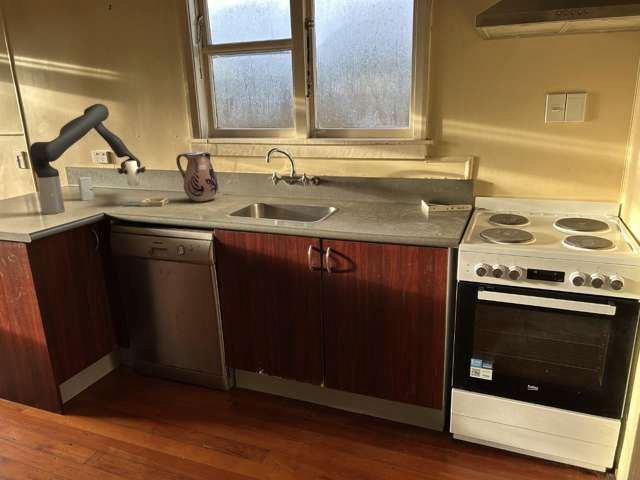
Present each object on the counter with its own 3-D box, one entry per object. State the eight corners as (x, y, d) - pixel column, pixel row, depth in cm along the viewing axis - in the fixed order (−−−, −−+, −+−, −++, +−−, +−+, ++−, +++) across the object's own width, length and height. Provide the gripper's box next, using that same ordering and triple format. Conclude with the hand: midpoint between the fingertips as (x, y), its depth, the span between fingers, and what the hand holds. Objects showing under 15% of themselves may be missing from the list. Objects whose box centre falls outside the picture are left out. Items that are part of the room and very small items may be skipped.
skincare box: (83, 200, 256) (79, 178, 253) (80, 199, 259) (76, 177, 256) (94, 199, 260) (91, 177, 257) (92, 198, 263) (88, 176, 260)
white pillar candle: (136, 185, 238) (133, 161, 235) (126, 186, 239) (123, 161, 235) (140, 184, 243) (137, 160, 240) (130, 184, 244) (127, 160, 240)
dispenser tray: (162, 206, 238) (161, 201, 237) (140, 206, 238) (140, 202, 238) (169, 202, 249) (168, 198, 248) (148, 202, 249) (148, 198, 248)
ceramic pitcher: (214, 203, 244) (210, 154, 237) (174, 203, 245) (169, 154, 238) (222, 197, 261) (218, 151, 254) (184, 197, 261) (179, 151, 255)
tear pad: (140, 206, 239) (140, 204, 239) (123, 206, 239) (123, 204, 239) (148, 202, 248) (147, 201, 248) (131, 202, 249) (130, 201, 248)
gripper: (115, 161, 248) (115, 165, 233) (144, 160, 253) (146, 163, 238) (117, 176, 250) (117, 180, 235) (146, 174, 256) (148, 178, 240)
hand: (132, 171), depth 237 cm, fingers closed on white pillar candle, 5 cm apart
